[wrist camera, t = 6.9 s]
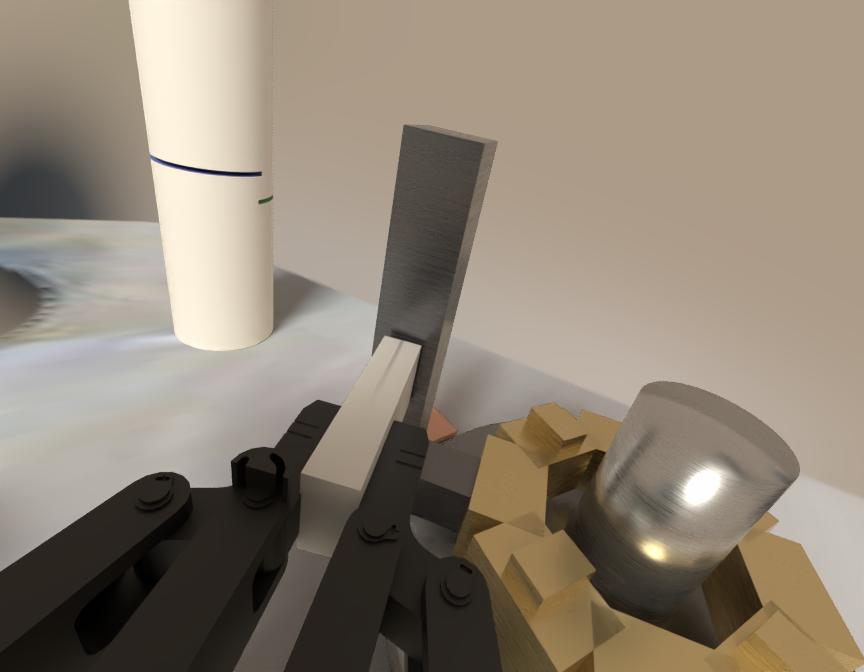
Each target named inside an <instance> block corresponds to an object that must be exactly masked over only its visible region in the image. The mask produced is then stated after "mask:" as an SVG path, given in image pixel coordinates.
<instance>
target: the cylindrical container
mask: <svg viewBox="0 0 864 672" xmlns="http://www.w3.org/2000/svg"><path fill="white" fill-rule="evenodd" d="M129 7H130V14H131V21H132V28H133V36H134V43H135V49H136V57H137V64H138V71H139V79H140V86H141V93H142V100H143V107H144V114H145V122H146V129H147V136H148V143H149V150H150V154H151V165H152V172H153V179H154V186H155V193H156V201H157V208H158V215H159V223H160V230H161V237H162V244H163V252H164V259H165V266H166V273H167V280H168V288H169V295H170V302H171V309H172V316H173V323H174V331H175V335H176V336H177V338H178V339H179V340H180V341H182V342H183V343H185V344H187V345H189V346H192V347H195V348H199V349H203V350H211V351H230V350H238V349H243V348H247V347H250V346H253V345H256V344H258V343H260V342H262V341H264V340H265V339H266V338H268V337H269V336H270V334H271V333H272V331H273V0H129Z"/></svg>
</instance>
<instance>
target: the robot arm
mask: <svg viewBox="0 0 864 672" xmlns="http://www.w3.org/2000/svg"><path fill="white" fill-rule="evenodd" d="M420 350H421V345H417V344H414V343H410V342H406V341H402V340H399V339H395V338H391V337H388V336H384V338H383V339H382V341H381V343H380V344H379V346H378V347H377V349H376V351H375V352H374V354H373V356H372V357H371V359H370V360H369V362H368V364H367V365H366V367H365V369H364V370H363V372H362V374H361V375H360V377H359V378H358V380H357V382H356V383H355V385H354V387H353V388H352V390H351V392H350V393H349V395H348V396H347V398H346V400H345V401H344V403H343V405H342V406H339V405H335V404H331V403H328V402H324V401H321V400H316V401H315V402H313V403H311V404H310V405H308V406H307V407H305V408H303V410H302V411H301V413H300V414H299V415H298V417H297V418H296V419H295V421H294V423H292V425H291V426H290V427H289V429H288V430H287V433H285V434H284V436H283V437H282V438H281V440H280V441H279V442H278V444H277V445H276V446H275V448H267V447H260V448H253V449H250V450H247V451H245V452H243V453H240V454H239V455H238V456H237V457H235V458H234V459H233V460H232V461H231V470H232V486H229V487H221V488H190V483H189V481H188V480H187V479H186V478H185V477H184V476H182V475H180V474H177V473H174V472H159V473H155V474H151V475H147V476H145V477H143V478H141V479H139V480H137V481H135V482H133V483H132V484H130V485H129V486H127V487H126V488H124V489H123V490H121V491H120V492H118V493H117V494H115V495H114V496H112V497H111V498H109V499H108V500H106V501H105V502H103V503H102V504H101V505H99V506H98V507H96V508H95V509H93V510H92V511H90V512H89V513H87V514H86V515H84V516H83V517H81V518H80V519H78V520H77V521H75V522H74V523H72V524H71V525H69V526H68V527H66V528H65V529H63V530H62V531H60V532H59V533H57V534H56V535H54V536H53V537H51V538H50V539H48V540H47V541H45V542H44V543H42V544H41V545H39V546H38V547H37V548H35V549H34V550H32V551H31V552H29V553H28V554H26V555H25V556H23V557H22V558H20V559H19V560H17V561H16V562H14V563H13V564H11V565H10V566H8V567H7V568H5V569H4V570H2V571H1V572H0V672H233V670H234V668H235V666H236V664H237V662H238V660H239V659H240V657H241V655H242V653H243V651H244V649H245V647H246V645H247V643H248V641H249V639H250V637H251V635H252V633H253V632H254V630H255V628H256V626H257V624H258V622H259V620H260V618H261V616H262V614H263V612H264V610H265V608H266V606H267V604H268V603H269V601H270V599H271V597H272V595H273V593H274V591H275V589H276V587H277V585H278V583H279V581H280V579H281V577H282V576H283V574H284V572H285V569H286V566H287V562H288V553H289V551H290V549H291V547H292V545H293V543H294V541H295V539H296V537H297V547H296V548H299V549H302V550H305V551H309V552H312V553H315V554H318V555H321V556H325V557H328V558H331V560H330V562H329V564H328V567H327V569H326V572H325V574H324V576H323V579H322V581H321V583H320V586H319V588H318V591H317V593H316V595H315V598H314V600H313V602H312V605H311V607H310V610H309V612H308V614H307V617H306V619H305V622H304V624H303V626H302V629H301V631H300V633H299V636H298V638H297V641H296V643H295V645H294V648H293V650H292V652H291V655H290V657H289V660H288V662H287V664H286V667H285V669H284V672H368V671H369V667H370V664H371V660H372V656H373V652H374V649H375V645H376V641H377V637H378V634H379V632H380V633H381V634H382V635H384V636H385V637H386V638H387V639H389V640H390V641H391V642H392V643H393V644H395V645H396V646H397V647H398V648H400V649H401V650H402V651H403V652H404V672H503V671H502V665H501V659H500V653H499V647H498V641H497V635H496V629H495V624H494V618H493V612H492V606H491V600H490V594H489V589H488V586H487V583H486V580H485V577H484V576H483V574H482V573H481V572H480V570H479V569H478V568H477V566H475V565H474V564H472V563H471V562H469V561H468V560H466V559H464V558H460V557H456V556H450V557H443V558H441V559H439V558H438V557H436V556H435V555H434V554H432V553H431V552H429V551H428V550H426V549H425V548H424V547H423V546H422V545H421V544H420V543H419V542H418V541H417V539H416V538H415V537H414V535H413V532H412V530H411V526H410V514H411V510H412V507H413V503H414V499H415V495H416V492H417V488H418V484H419V481H420V477H421V473H422V469H423V465H424V462H425V458H426V454H427V450H428V447H429V439H428V435H427V431H426V429H424V428H420V427H417V426H413V425H410V424H406V423H403V422H402V421H403V418H404V416H405V413H406V410H407V408H408V405H409V401H410V396H411V392H412V387H413V382H414V378H415V373H416V369H417V364H418V359H419V355H420Z"/></svg>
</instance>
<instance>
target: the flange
mask: <svg viewBox="0 0 864 672" xmlns="http://www.w3.org/2000/svg"><path fill="white" fill-rule="evenodd" d="M503 423H506V422H503ZM499 424H502V423H496V424H490V425H487V426H483V427H479V428H476V429H473V430H471V431H468V432H466V433H463V434H461V435H459V436H457V437H456V438H454V439H452V440H450V441H449V442H447V443H445V444H444V445H445V446H448V447H451V448H453V449H456V450H459V451H462V452H464V453H467V454H470V455H473V456H475V457H478V458H480V456H481V453H482V450H483V448H484V445H485V442H486V439H487V436H488V434H489V435H492V436H494V437H495V435H496V433H497V430H498V427H499ZM799 473H800V467H799V463H798V461H797V458H796V456H795V455H794V453H793V451H792V450H791V449H790V447H789V446H788V445H787V444H786V442H784V440H783V439H782V438H781V437H780V436H779V435H778V434H777V433H776V432H774V431H773V430H772V429H771V428H770V427H768V426H767V425H766V424H765V423H763V422H762V421H761V420H759V419H758V418H757V417H755V416H754V415H752V414H751V413H749V412H747V411H746V410H744V409H742V408H741V407H739V406H737V405H736V404H734V403H732V402H730V401H728V400H726V399H724V398H722V397H720V396H717V395H715V394H713V393H710V392H707V391H705V390H702V389H699V388H696V387H693V386H690V385H685V384H681V383H675V382H667V381H663V382H661V381H659V382H653V383H649V384H647V385H645V386H644V387H643V388H642V389H641V391H640V392H639V394H638V396H637V398H636V400H635V401H634V403H633V405H632V407H631V409H630V410H629V412H628V414H627V416H626V418H625V419H624V421H623V423H622V425H621V427H620V428H619V430H618V432H617V434H616V436H615V437H614V439H613V441H612V443H611V445H610V447H609V448H608V450H607V452H606V454H605V456H604V457H603V459H602V461H601V463H600V465H599V466H598V468H597V470H596V472H595V474H594V475H593V477H592V479H591V481H590V483H589V485H588V486H587V488H586V490H585V492H582V491H579V490H577V489H574V490H571V491H569V492H566V493H564V494H561V495H558V496H556V497H553V498H551V499H548V500H546V512H545V525H546V526H547V528H548V529H549V530H550V532H551V533H552V534H554V533H557V532H559V531H561V530H564V531H565V532H566V533H567V535H568V536H569V537H570V538H571V540H572V541H573V542H574V543H575V545H576V546H577V547H578V548H579V550H580V551H581V552H582V553H583V554H584V556H585V557H586V558H587V559H588V561H589V562H590V563H591V564H592V566H593V567H594V568H595V569H596V572H595V573H594V575H593V576H592V578H591V579H590V583H591V584H592V585H593V586H594V588H595V589H596V590H597V592H598V593H599V594H600V595H601V597H602V598H603V599H604V601H605V602H606V603H607V604H608V606H609V607H610V608H612V609H614V610H617V611H619V612H622V613H624V614H627V615H629V616H632V617H634V618H637V619H639V620H642V621H644V622H647V623H649V624H652V625H654V626H656V627H659V628H661V629H664V630H666V631H669V632H671V633H674V634H676V635H679V636H681V637H684V638H686V639H689V640H691V641H694V642H696V643H699V644H701V645H704V646H706V647H709V648H711V649H714V650H715V649H716V648H717V647H718V646H719V645H718V641H717V638H716V634H715V631H714V628H713V624H712V621H711V617H710V614H709V610H708V607H707V603H706V600H705V597H704V593H703V590H702V586H701V584H702V582H703V581H704V580H705V579H706V578H707V577H708V576H709V575H710V574H711V573H712V572H713V570H714V569H715V568H716V567H717V566H718V565H719V564H720V563H721V562H722V561H723V559H724V558H725V557H726V556H727V555H728V554H729V553H730V552H731V551H732V550H733V548H734V547H735V546H736V545H737V544H738V543H739V542H740V541H741V540H742V539H743V537H744V536H745V535H746V534H747V533H748V532H749V531H750V530H751V529H752V528H753V526H754V525H755V524H756V523H757V522H758V521H759V520H760V519H761V518H762V517H763V515H764V514H765V513H766V512H767V511H768V510H769V509H770V508H771V507H772V506H773V505H774V503H775V502H776V501H777V500H778V499H779V498H780V497H781V496H782V495H783V494H784V492H785V491H786V490H787V489H788V488H789V487H790V486H791V485H792V484H793V483H794V481H795V480H796V479H797V478H798V476H799ZM410 526H411V530H412V532H413V535H414V537H415V538H416V539H417V541H418V542H419V543H420V544H421V545H422V546H423V547H424V548H425V549H426V550H428V551H429V552H431V553H432V554H434V555H435V556H436V557H438V558H439V559H441V558H443V557H450V556H455V555H452V553H453V549H454V546H455V542H456V538H457V535H458V533H457V532H455V531H452V530H450V529H447V528H445V527H442V526H440V525H437V524H435V523H432V522H430V521H427V520H424V519H422V518H419V517H417V516H414V515H412V514H410ZM456 557H457V556H456ZM386 643H387V651H388V658H389V662H390V666H391V670H392V672H404V652H403V651H402V650H401V649H400V648H398V647H397V646H396V645H395V644H393V643H392V642H391V641H390V640H389V639H387V638H386ZM502 671H503V672H504V670H503V668H502ZM853 672H855V670H854V671H853Z"/></svg>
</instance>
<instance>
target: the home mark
mask: <svg viewBox="0 0 864 672" xmlns="http://www.w3.org/2000/svg"><path fill="white" fill-rule="evenodd" d="M457 431H458V430H457V429H456V428H455V427H454V426H453V425H452V424H451V423H450V422H449V421H448V420H447V419H446V418H445V417H444V416H443V415H442V414H441V413H440V412H439V411H438V410H437V409H436V408H434V407H433V408H432V412H431V416H430V420H429V424H428V429H427V435H428V439H429V440H431V441H434V442H437V443H439V442H441V441H443V440H446V439H448V438H450V437H452V436H455V435H456V434H457Z"/></svg>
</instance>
